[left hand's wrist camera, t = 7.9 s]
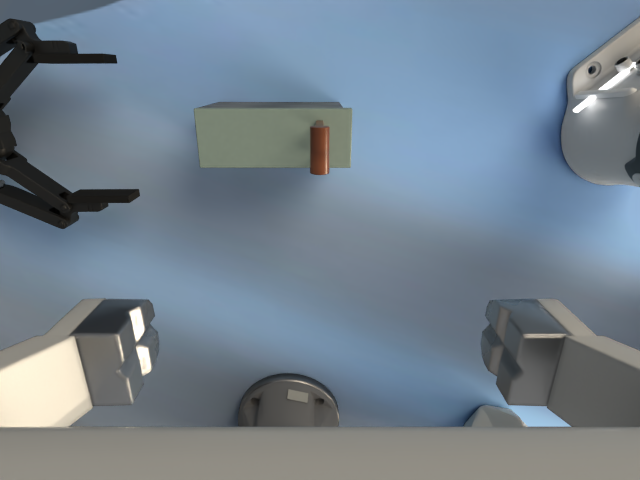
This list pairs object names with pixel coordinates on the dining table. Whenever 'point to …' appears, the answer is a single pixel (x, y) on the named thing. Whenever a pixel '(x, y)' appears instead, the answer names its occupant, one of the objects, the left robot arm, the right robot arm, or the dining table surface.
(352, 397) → the dining table surface
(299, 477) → the left robot arm
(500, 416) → the vase
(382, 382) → the dining table surface
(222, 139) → the lid
